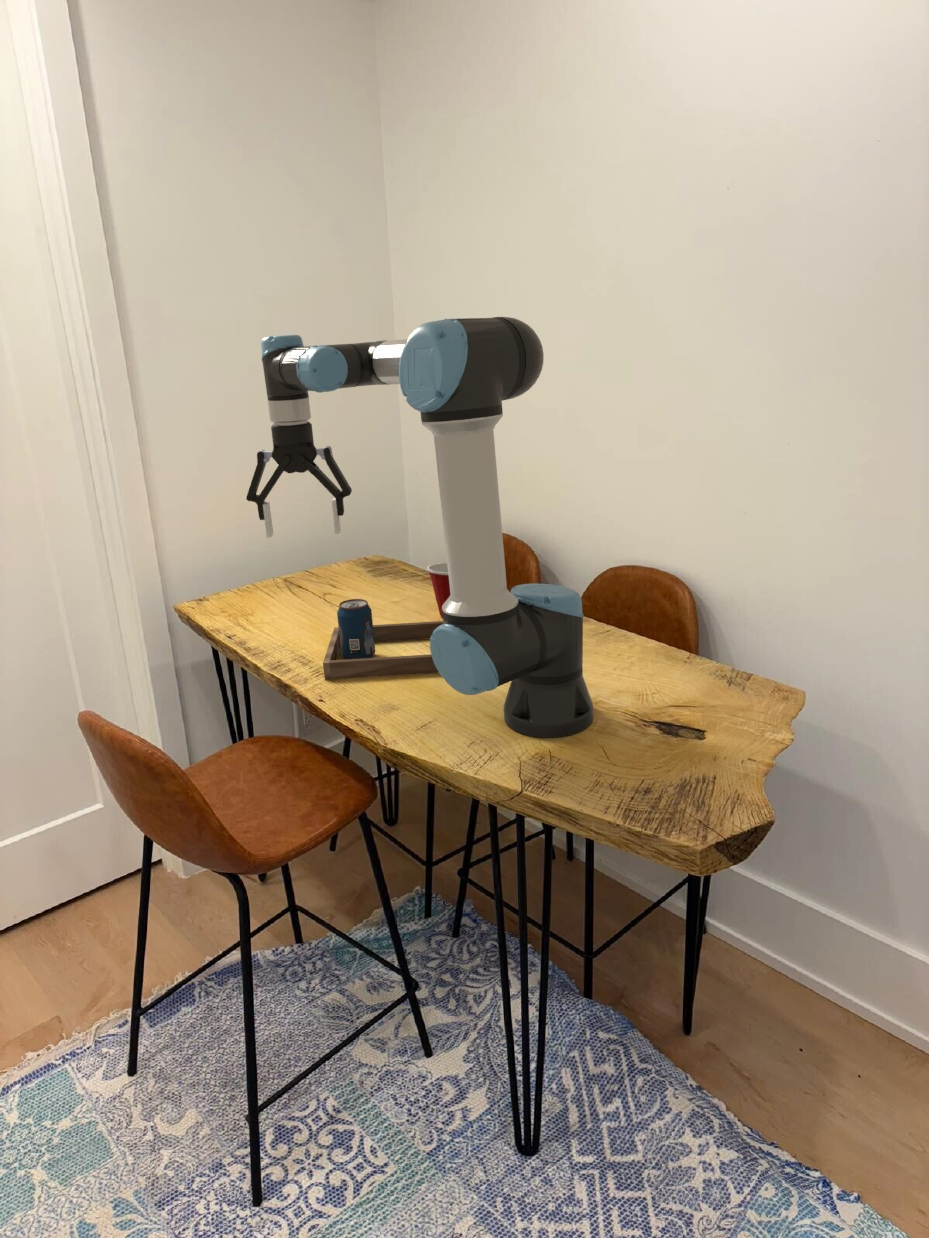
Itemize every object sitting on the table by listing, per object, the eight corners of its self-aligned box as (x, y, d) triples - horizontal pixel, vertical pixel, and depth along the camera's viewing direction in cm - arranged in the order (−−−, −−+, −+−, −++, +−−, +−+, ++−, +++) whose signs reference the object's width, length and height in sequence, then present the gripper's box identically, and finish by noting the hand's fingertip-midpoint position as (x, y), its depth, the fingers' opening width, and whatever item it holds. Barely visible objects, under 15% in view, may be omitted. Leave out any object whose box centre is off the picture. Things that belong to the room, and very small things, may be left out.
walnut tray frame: (451, 672, 163) (450, 655, 162) (324, 679, 163) (322, 663, 161) (449, 635, 182) (448, 620, 181) (336, 642, 181) (334, 627, 180)
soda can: (345, 652, 176) (339, 598, 171) (378, 651, 175) (373, 597, 171) (339, 665, 169) (333, 609, 165) (373, 664, 169) (368, 608, 165)
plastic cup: (486, 614, 194) (484, 564, 190) (451, 627, 187) (448, 575, 183) (455, 604, 201) (452, 556, 197) (420, 616, 194) (417, 567, 190)
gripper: (358, 416, 160) (368, 526, 167) (229, 423, 159) (245, 532, 167) (355, 421, 153) (365, 535, 160) (219, 428, 152) (236, 542, 160)
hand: (304, 534), depth 163 cm, fingers open, 12 cm apart
